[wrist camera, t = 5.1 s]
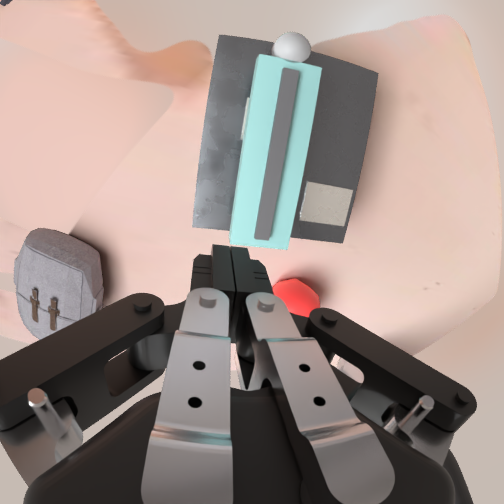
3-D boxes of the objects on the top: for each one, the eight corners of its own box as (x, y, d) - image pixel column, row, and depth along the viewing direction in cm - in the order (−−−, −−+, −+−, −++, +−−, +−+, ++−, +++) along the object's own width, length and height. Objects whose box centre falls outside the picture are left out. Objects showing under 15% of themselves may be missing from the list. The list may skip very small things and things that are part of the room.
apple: (321, 299, 44) (338, 332, 37) (276, 324, 45) (286, 360, 38) (299, 261, 40) (315, 292, 33) (250, 289, 42) (257, 325, 34)
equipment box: (347, 80, 30) (389, 70, 21) (319, 219, 38) (350, 252, 29) (219, 53, 28) (219, 27, 18) (197, 204, 35) (190, 235, 26)
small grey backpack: (33, 213, 33) (28, 314, 40) (1, 235, 25) (8, 343, 32) (119, 250, 37) (99, 346, 44) (99, 281, 29) (85, 381, 36)
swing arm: (261, 32, 19) (265, 23, 17) (318, 45, 20) (328, 38, 17) (229, 235, 26) (230, 246, 24) (282, 240, 27) (288, 252, 25)
